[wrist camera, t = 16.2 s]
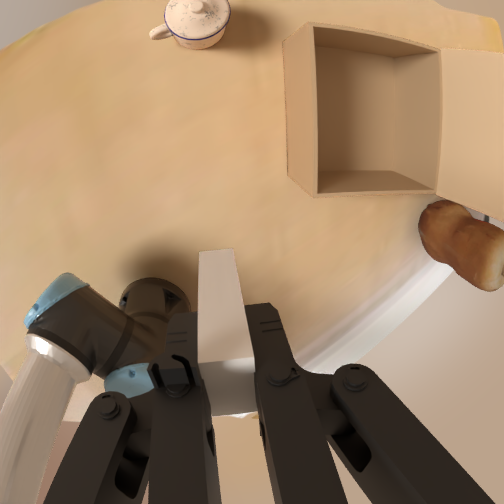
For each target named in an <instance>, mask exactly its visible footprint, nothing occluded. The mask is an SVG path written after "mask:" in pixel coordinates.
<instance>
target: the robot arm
mask: <svg viewBox="0 0 504 504" xmlns="http://www.w3.org/2000/svg"><path fill="white" fill-rule="evenodd" d="M24 324H25V325H26V328H27V329H29V330H28V332H27V334H26V336H25V344H26V348H27V355H26V357H25V359H24V361H23V363H22V365H21V367H20V369H19V371H18V373H17V375H16V377H15V380H14V382H13V384H12V386H11V388H10V391H9V393H8V395H7V398H6V400H5V402H4V404H3V407H2V409H1V412H0V504H36V501H37V498H38V494H39V490H40V487H41V483H42V480H43V476H44V473H45V470H46V466H47V463H48V460H49V457H50V454H51V451H52V448H53V445H54V442H55V439H56V436H57V433H58V431H59V427H60V425H61V422H62V420H63V417H64V414H65V412H66V409H67V407H68V404H69V402H70V399H71V397H72V394H73V392H74V389H75V387H76V385H77V384H79V383H82V382H85V381H88V380H90V377H91V375H92V373H94V374H95V375H97V376H99V377H100V378H102V379H104V380H105V381H104V388H105V392H104V393H101V394H100V395H98V396H97V397H95V398H94V400H93V401H92V402H91V403H90V405H89V407H88V409H87V411H86V413H85V415H84V417H83V419H82V421H81V423H80V425H79V427H78V429H77V431H76V433H75V435H74V437H73V439H72V441H71V443H70V445H69V447H68V449H67V451H66V453H65V456H64V458H63V460H62V462H61V464H60V466H59V469H58V471H57V473H56V475H55V477H54V480H53V482H52V484H51V486H50V489H49V491H48V493H47V496H46V498H45V500H44V503H43V504H141V503H142V500H143V497H144V494H145V490H146V487H147V484H148V481H149V496H148V497H149V498H148V500H149V501H148V502H149V503H148V504H222V502H221V494H220V485H219V476H218V467H217V456H216V445H215V433H214V429H213V425H212V417H211V413H212V416H221V415H231V414H240V413H248V412H255V411H258V415H259V425H260V436H262V441H263V446H264V451H265V456H266V462H267V466H268V472H269V477H270V481H271V486H272V491H273V496H274V501H275V504H348V502H347V499H346V496H345V493H344V490H343V487H342V484H341V481H340V478H339V475H338V472H337V469H336V466H335V463H334V460H333V457H332V454H331V451H330V448H329V445H328V442H329V444H330V445H331V447H332V448H333V450H334V451H335V452H336V454H337V455H338V457H339V458H340V460H341V461H342V462H343V464H344V465H345V467H346V468H347V470H348V471H349V472H350V474H351V475H352V476H353V478H354V479H355V481H356V482H357V483H358V485H359V486H360V488H361V489H362V490H363V492H364V493H365V494H366V496H367V497H368V499H369V500H370V501H371V503H372V504H495V503H494V502H493V500H492V499H491V498H490V497H489V496H488V495H487V494H486V493H485V492H484V491H483V489H482V488H481V487H480V486H479V485H478V484H477V483H476V482H475V481H474V480H473V478H472V477H471V476H470V475H469V474H468V473H467V472H466V471H465V470H464V469H463V468H462V466H461V465H460V464H459V463H458V462H457V461H456V460H455V459H454V458H453V457H452V456H451V454H450V453H448V451H447V450H446V449H445V448H444V447H443V446H442V445H441V444H440V442H439V441H438V440H437V439H436V438H435V437H434V436H433V435H432V434H431V433H430V432H429V431H428V429H427V428H426V427H425V426H424V425H423V424H422V423H421V422H420V421H419V420H418V419H417V418H416V417H415V415H414V414H413V413H412V412H411V411H410V410H409V409H408V408H407V407H406V406H405V405H404V404H403V402H402V401H401V400H400V399H399V398H398V397H397V396H396V395H395V394H394V393H393V392H392V391H391V390H390V389H389V387H388V386H387V385H386V384H385V383H384V382H383V381H382V380H381V379H380V378H379V377H378V376H377V375H376V374H375V372H374V371H372V370H371V369H370V368H368V367H366V366H364V365H361V364H347V365H344V366H342V367H340V368H339V369H337V370H336V371H335V373H334V375H332V374H317V373H311V372H309V371H306V370H304V369H303V368H301V367H300V366H299V365H298V364H297V363H296V362H295V360H294V358H293V355H292V352H291V349H290V346H289V343H288V340H287V337H286V334H285V331H284V329H283V325H282V322H281V319H280V316H279V313H278V310H277V309H276V308H274V307H273V306H272V305H271V304H270V303H261V304H253V305H245V306H244V303H243V298H242V293H241V288H240V283H239V278H238V272H237V267H236V262H235V256H234V251H233V248H229V249H220V250H210V251H201V252H199V276H198V312H190V304H189V301H188V299H187V297H186V295H185V294H184V293H183V292H182V291H181V290H180V289H179V288H178V287H177V286H175V285H174V284H172V283H170V282H168V281H165V280H162V279H157V278H145V279H140V280H137V281H135V282H133V283H131V284H130V285H129V286H128V287H127V288H126V289H125V290H124V292H123V294H122V296H121V299H120V302H119V308H118V307H116V306H115V305H114V304H112V303H111V302H110V301H108V300H107V299H106V298H104V297H103V296H102V295H100V294H99V293H98V292H96V291H95V290H94V289H92V288H91V287H90V285H89V284H88V283H85V282H83V281H82V280H80V279H79V278H78V277H76V276H75V275H74V274H72V273H64V274H61V275H60V276H59V277H57V278H56V279H55V280H54V281H53V282H52V283H51V284H50V285H49V286H48V288H47V289H46V290H45V291H44V292H43V293H42V295H41V296H40V297H39V298H38V300H37V301H36V303H35V304H34V305H33V307H32V308H31V309H30V310H29V312H28V313H27V315H26V317H25V319H24ZM327 441H328V442H327Z"/></svg>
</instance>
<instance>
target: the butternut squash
mask: <svg viewBox="0 0 504 504" xmlns="http://www.w3.org/2000/svg"><path fill="white" fill-rule="evenodd" d="M418 228H419V233H420V237H421V240H422V243H423V246H424V248H425V250H426V252H427V253H428V254H429V255H430V256H431V257H432V258H433V259H434V260H436V261H438V262H441V263H445V264H448V265H449V266H451V267H452V268H453V269H454V270H455V271H456V273H457V274H458V275H460V276H461V277H462V278H464V279H465V280H467V281H468V282H469V283H471V284H472V285H474V286H475V287H477V288H479V289H481V290H484V291H488V292H491V291H495V290H497V289H499V288H500V287H501V286H502V285H503V284H504V231H503V230H502V229H500V228H499V227H496V226H495V225H493V224H490V223H487V222H485V221H481V220H478V219H475V218H473V217H472V216H471V214H470V213H469V212H468V211H467V210H466V209H465V208H464V207H463V206H462V205H460V204H458V203H456V202H453V201H450V200H442V201H437V202H435V203H433V204H429V205H428V206H427V208H426V209H425V210H424V211H423V212H422V214H421V216H420V220H419V223H418Z"/></svg>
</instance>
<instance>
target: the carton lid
mask: <svg viewBox="0 0 504 504" xmlns="http://www.w3.org/2000/svg"><path fill="white" fill-rule="evenodd" d="M441 60H442V83H443V117H442V141H441V155H440V166H439V176H438V185H437V192H436V195H437V196H440V197H442V198H445V199H448V200H450V201H453V202H456V203H458V204H461V205H463V206H466V207H468V208H471V209H473V210H476V211H478V212H481V213H483V214H485V215H488V216H490V217H492V218H495V219H497V220H499V221H501V222H504V53H499V52H491V51H482V50H471V49H456V48H441Z"/></svg>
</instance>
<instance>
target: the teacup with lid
mask: <svg viewBox="0 0 504 504" xmlns="http://www.w3.org/2000/svg"><path fill="white" fill-rule="evenodd" d="M230 12H231V10H230V5H229V2H228V0H170V1H169V3H168V5H167V7H166V9H165V14H164V18H165V24H162V25H160V26H158V27H156V28H154V29H153V30H151V31H150V33H149V35H150V38H151V39H153V40H161V39H165V38H168V37H171V36H174V38H175V39H176V41H177V42H178V43H179V44H181V45H182V46H184V47H186V48H189V49H205V48H208V47H210V46H212V45H214V44H215V43H217V42H218V41H219V40H220V39H221V37H222V36H223V34H224V32H225V28H226V24H227V23H228V21H229V18H230Z"/></svg>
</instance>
